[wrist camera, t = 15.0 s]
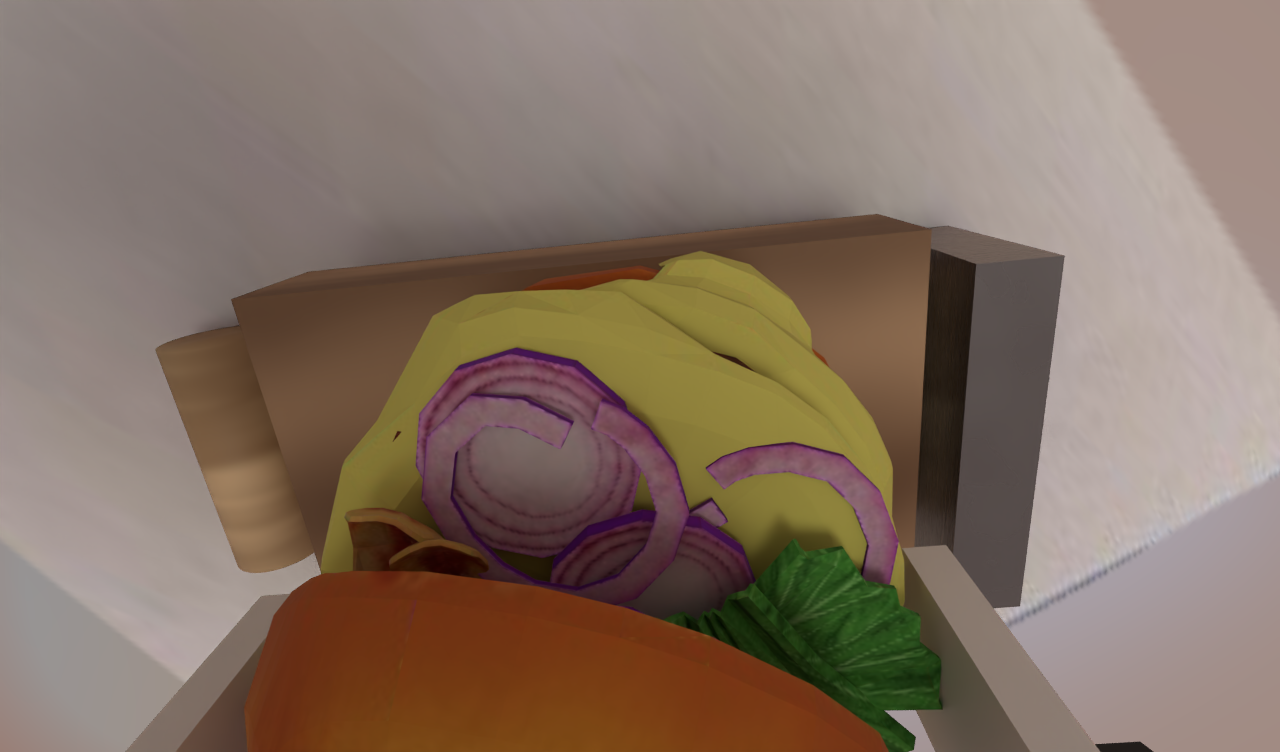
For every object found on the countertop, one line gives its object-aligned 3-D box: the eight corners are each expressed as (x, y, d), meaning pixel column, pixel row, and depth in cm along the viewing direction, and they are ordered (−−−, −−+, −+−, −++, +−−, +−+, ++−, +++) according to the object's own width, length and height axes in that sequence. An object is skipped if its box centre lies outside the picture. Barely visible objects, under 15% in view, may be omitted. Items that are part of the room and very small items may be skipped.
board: (308, 271, 18) (231, 299, 15) (877, 214, 17) (931, 229, 14) (404, 611, 22) (361, 693, 19) (868, 578, 21) (908, 657, 18)
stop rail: (885, 232, 20) (976, 264, 15) (948, 225, 20) (1064, 255, 14) (877, 500, 24) (948, 611, 18) (931, 496, 23) (1019, 606, 18)
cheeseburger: (979, 356, 13) (1496, 1123, 4) (719, 632, 18) (719, 1192, 10) (508, 119, 11) (-151, 584, 3) (384, 501, 17) (50, 1030, 8)
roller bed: (198, 329, 22) (131, 356, 19) (869, 264, 21) (903, 282, 18) (268, 526, 24) (218, 575, 22) (864, 478, 23) (893, 523, 20)
